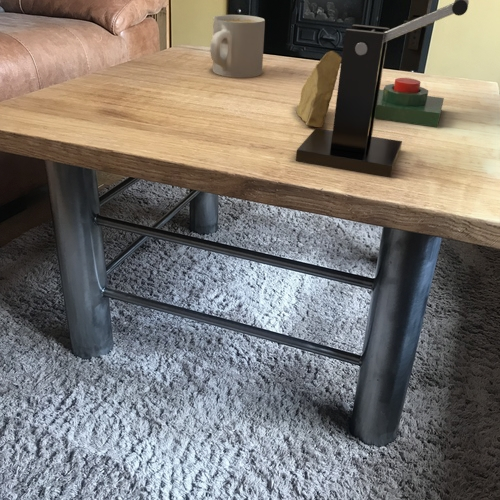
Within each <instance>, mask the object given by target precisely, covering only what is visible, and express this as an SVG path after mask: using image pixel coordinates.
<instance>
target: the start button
mask: <svg viewBox="0 0 500 500" xmlns="http://www.w3.org/2000/svg"><path fill="white" fill-rule="evenodd" d="M393 84H394V90H396V91H399V92H406V93H418V92H419V88H420V87H421V80H418V79H415V78H411V77H398V78H395V79H394V83H393Z"/></svg>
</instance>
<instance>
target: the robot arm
mask: <svg viewBox="0 0 500 500" xmlns="http://www.w3.org/2000/svg"><path fill="white" fill-rule="evenodd" d="M432 3H433V0H411V3H410V8H409V15H408V16H407V20H404V21H403V24H405V23H407V22H409V21H412V20H414V19H417V18H419V17H421V16H424V15H426V14H429V13H431V9H432V8H431V7H432ZM432 24H433V22H432V23H430V24H428V25H425V26H423V27H420V28H418V29H415V30H413V31H410V32H408V33H406V34H405V40H404V44H403V45H404V46H403V50H402V51H403V52H402V57H401V61H400V68H399V69H400V70H401V71H402V70H403V71H412V72H418V71H419V68H420V64H421V58H422V55H423V54H422V53H423V48H424V43H425V38H426V33H427V28H428V26H433V25H432Z"/></svg>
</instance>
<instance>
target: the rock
mask: <svg viewBox="0 0 500 500" xmlns="http://www.w3.org/2000/svg"><path fill="white" fill-rule="evenodd" d="M319 60H320V61H318V63H317V64H316V65H315V67H314V68H313V69H312V70H311V73H310V75H309V77H308V78H306V81H305V82H304V85H303V86H302V88H301V91H300V100H299V103H298V105H297V109H296V110H295V113H296V114H297V116H298V117H299V118H301V120H302V121H303V122H305V125H306V126H308V127H314V128H320V129H322V128H323V125H324V123H325V118H326V117H327V115H328V113H329V107H330V103H331V100H332V97H333V93H334V90H335V86H336V83H337V79H338V75H339V71H340V69H341V61H342V56H341V55H340V54H338V53H337V52H336V51H334V50H330V51H327V52H326V53H325V54H324V55H323V57H322V58H320V59H319Z"/></svg>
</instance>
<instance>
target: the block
mask: <svg viewBox="0 0 500 500" xmlns="http://www.w3.org/2000/svg"><path fill="white" fill-rule="evenodd" d="M429 92H430V91H429V89H427V88H425V87H422V86H420V88H419V92H418V93H406V92H399V91H396V90H394V83H390V84H385V86H384V87H383V89H380V90H379V96H378V103H377V109H376V115H375V119H378V120H385V121H392V122H397V123H406V124H412V125H419V126H424V127H425V126H426V127H433V128H438V125H439V121H440V117H441V113H442V108H443V105H444V98H445V97H439V96H431V95H429Z"/></svg>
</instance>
